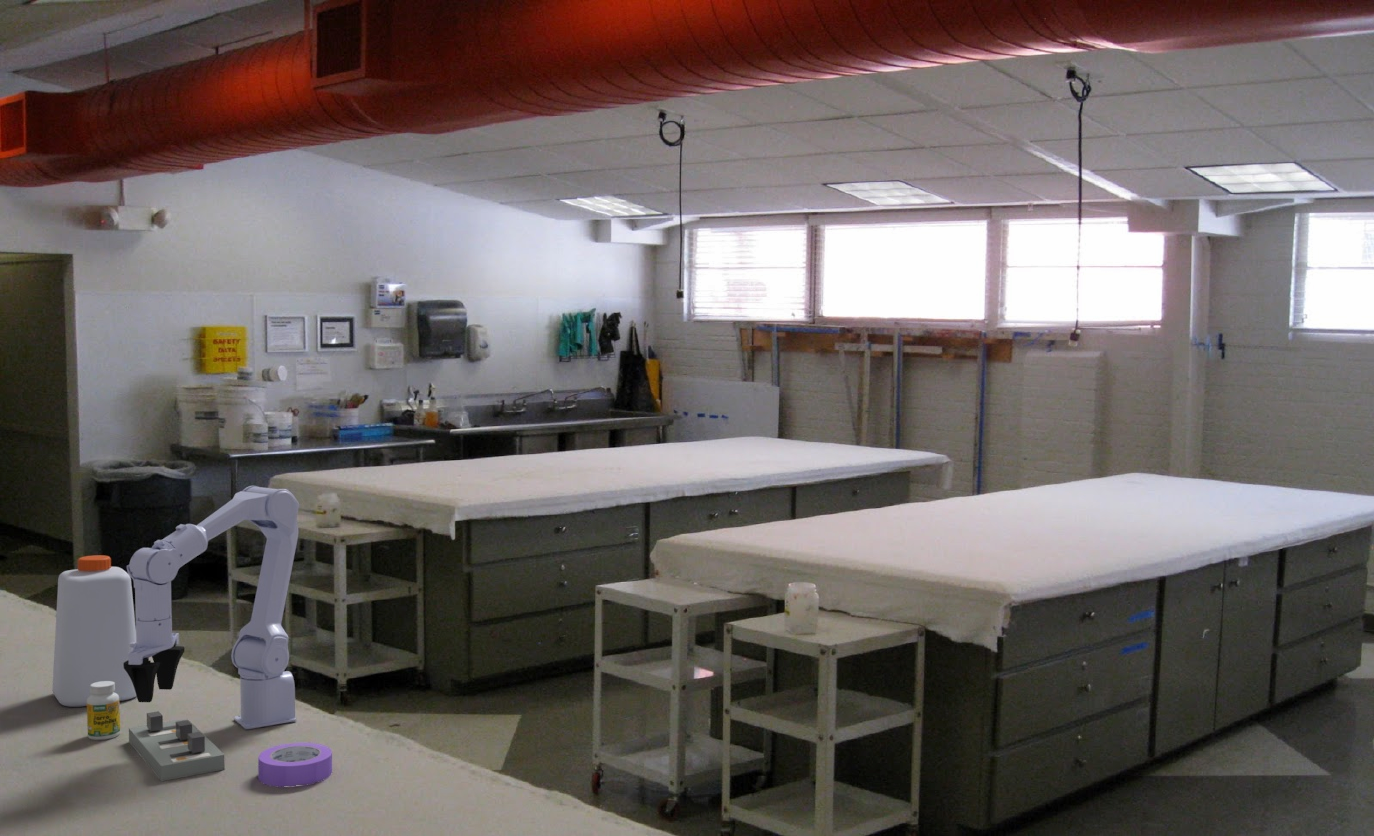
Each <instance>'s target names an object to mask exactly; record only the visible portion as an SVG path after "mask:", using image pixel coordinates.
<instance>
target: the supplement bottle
mask: <svg viewBox="0 0 1374 836" xmlns="http://www.w3.org/2000/svg"><path fill="white" fill-rule="evenodd" d="M114 690H115V683H114V682H112V681H101V682H96V683H93V684H91V685H90V692H91V693H92V695H91V696H89V697H88V699H87V706H86V718H87V721H86V722H87V737H88V738H89V739H90V740H92V741H93V740H94V741H105V740H110V739H113V738H116V737H118V736H119V735H120V734H121V711H120V710H121V709H120V701H119V696H118V694H116V693H114V692H113V691H114Z"/></svg>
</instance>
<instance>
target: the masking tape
mask: <svg viewBox="0 0 1374 836" xmlns="http://www.w3.org/2000/svg"><path fill="white" fill-rule="evenodd" d="M257 759H258V765H257V767H258V769H257V770H258V774H257V775H258V776H257V777H258V778H257V779H258V781H259V782H260V783H261V782H262V783H261V784H263V783H264V784H263V785H265V784H266V786H268V785H271V786H270V787H273V786H278V787H277V788H285V787H284V786H296V785H305V786H309V784H310V785H314V784H316V783H315V782H317V783H319V782H318V781H320V782H322V781H324V780H323V779H325V780H327V779H328V778H329V777H330V776H332V774H331V773H333V750H332V749H331V748H330V747H329V746H327V745H324V744H321V743H315V742H291V743H283V744H277V745H275V746H272V747H269V748H267V749H264V750H263V751H261V752H260V753H259V755H258V757H257ZM321 780H322V781H321ZM313 783H314V784H313ZM307 784H308V785H307Z"/></svg>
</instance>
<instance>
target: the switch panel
mask: <svg viewBox="0 0 1374 836" xmlns="http://www.w3.org/2000/svg"><path fill="white" fill-rule="evenodd" d="M183 720H188V721H189V722H190V723H191V724H192V733H195V732H201V733H202V731H201V730H200V729H198V727H197V726H196V725H194V723H192V721H190V719H188V718H183V719H175V720H170V721H163V729H162V730H156V731H150V730H149V729H148V728H147V724H145V725H138V726H133V727H128V743H130V745H131V746H132V747H133V749H134V750H135V751H136V752H137V753H138V754H139V756H140V757H141V758H142V759H143V761H144V762H145V763H146V764H147V765H148V766H149V768H150V770H152V771H153V773H154V774H155V775H156V776H157V777H158V779H159V781H161V782H165V781H169V780H173V779H180V778H186V777H191V776H196V775H200V774H201V775H202V774H207V773H212V772H218V771H224V770H225V769H226V768H225V753H223V752H222V751H221V749H219V748H218V747H217V745H215V744H214V743H213V742H212V741H211V740H210V739H209V738H208V737H207V736H206V735H205V734H204V733H202V734H203V735H204V736H205V751H202V752H196V753H192V752H191V751H190V750H189V749H188V739H186V740H179V739H178V738H177V737H176V722H177V721H183Z"/></svg>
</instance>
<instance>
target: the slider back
mask: <svg viewBox="0 0 1374 836" xmlns="http://www.w3.org/2000/svg"><path fill="white" fill-rule="evenodd" d="M163 717H164V716H163V714H162V713H161V711H159V710H158V711H151V712H146V725H147V728H148V729H149V730H150V731H156V730H162V729H163V722H164V721H163V720H164V719H163Z"/></svg>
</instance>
